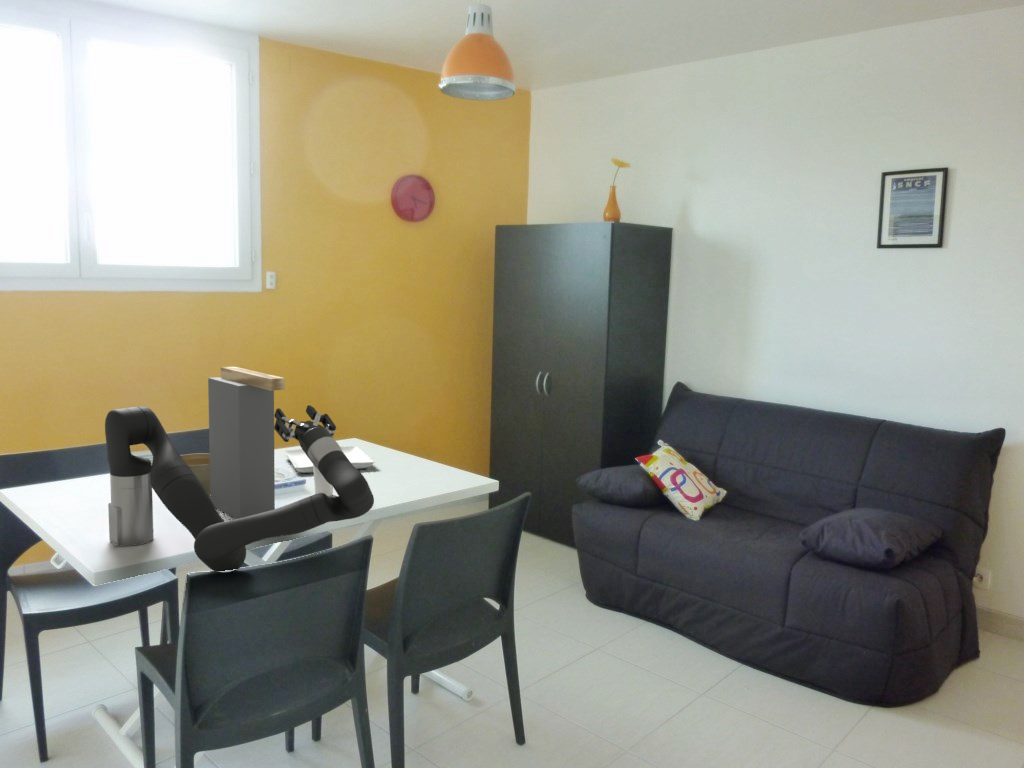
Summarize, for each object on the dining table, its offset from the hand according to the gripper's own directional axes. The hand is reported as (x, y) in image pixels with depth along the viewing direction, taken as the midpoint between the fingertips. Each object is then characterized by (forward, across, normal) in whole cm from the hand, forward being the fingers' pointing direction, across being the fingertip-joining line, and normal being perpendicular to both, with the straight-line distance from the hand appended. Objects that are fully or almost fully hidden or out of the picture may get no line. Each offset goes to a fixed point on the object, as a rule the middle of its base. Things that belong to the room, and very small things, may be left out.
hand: (292, 409), depth 199 cm
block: (+22, 0, -7) cm, 23 cm away
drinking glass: (+9, +26, -43) cm, 51 cm away
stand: (+9, 0, -43) cm, 44 cm away
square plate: (+39, +48, -60) cm, 87 cm away
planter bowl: (+30, -3, -55) cm, 62 cm away
